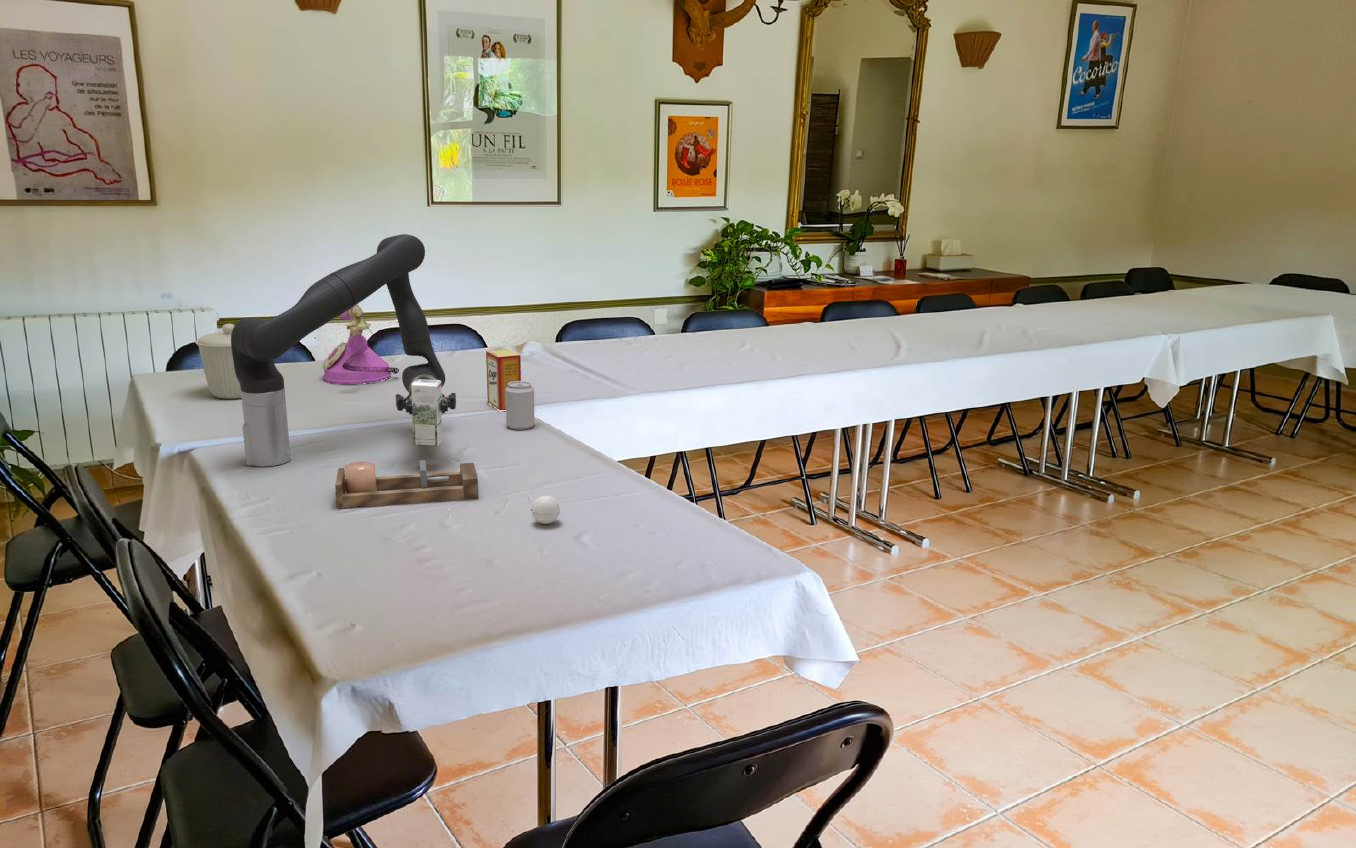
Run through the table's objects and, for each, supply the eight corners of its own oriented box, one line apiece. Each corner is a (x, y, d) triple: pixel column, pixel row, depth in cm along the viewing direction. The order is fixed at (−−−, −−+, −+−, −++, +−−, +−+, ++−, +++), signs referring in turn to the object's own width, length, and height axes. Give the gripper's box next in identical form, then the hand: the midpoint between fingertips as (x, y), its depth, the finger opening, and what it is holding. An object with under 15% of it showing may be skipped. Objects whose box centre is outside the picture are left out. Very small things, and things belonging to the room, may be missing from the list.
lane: (336, 508, 197) (335, 485, 195) (340, 490, 207) (338, 468, 206) (478, 498, 204) (477, 476, 203) (474, 481, 215) (473, 460, 213)
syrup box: (443, 440, 225) (441, 378, 221) (437, 447, 219) (436, 384, 215) (418, 439, 225) (416, 378, 221) (412, 446, 219) (410, 383, 215)
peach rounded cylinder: (346, 503, 200) (344, 471, 198) (347, 494, 205) (345, 462, 203) (376, 501, 201) (374, 469, 199) (377, 492, 207) (375, 460, 205)
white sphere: (546, 515, 196) (546, 489, 194) (566, 522, 192) (566, 496, 191) (517, 526, 190) (516, 499, 188) (537, 533, 186) (537, 506, 185)
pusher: (421, 497, 203) (420, 470, 201) (421, 487, 209) (419, 460, 208) (450, 495, 205) (448, 468, 203) (448, 485, 211) (447, 458, 209)
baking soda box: (487, 404, 280) (486, 349, 276) (509, 401, 283) (507, 347, 279) (499, 412, 272) (498, 355, 268) (521, 409, 275) (520, 353, 271)
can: (507, 431, 253) (506, 386, 250) (504, 424, 260) (503, 380, 257) (536, 430, 255) (535, 385, 252) (532, 422, 262) (532, 379, 259)
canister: (252, 403, 275) (245, 330, 269) (189, 401, 275) (181, 328, 270) (279, 388, 292) (273, 319, 287) (219, 387, 293) (212, 317, 287)
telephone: (319, 372, 315) (313, 295, 308) (390, 367, 324) (386, 292, 318) (331, 397, 284) (325, 312, 277) (410, 391, 293) (405, 308, 287)
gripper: (393, 377, 230) (393, 394, 215) (455, 376, 234) (459, 392, 218) (394, 408, 232) (394, 426, 216) (456, 406, 236) (460, 424, 220)
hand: (427, 409), depth 217 cm, fingers closed on syrup box, 6 cm apart
